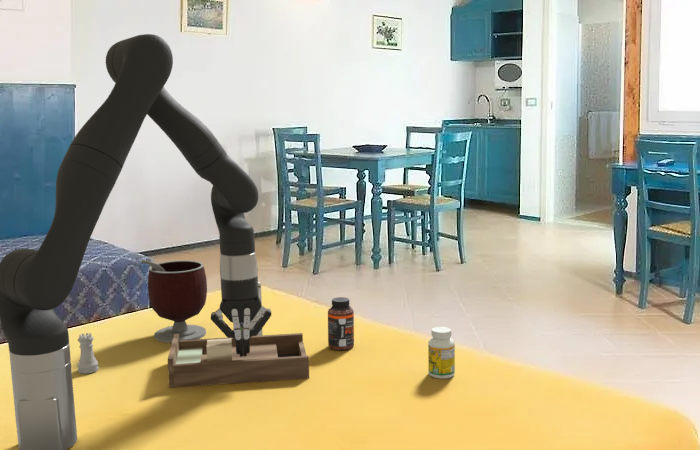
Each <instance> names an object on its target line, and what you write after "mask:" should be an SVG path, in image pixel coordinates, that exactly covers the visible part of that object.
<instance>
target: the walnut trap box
mask: <svg viewBox="0 0 700 450" xmlns="http://www.w3.org/2000/svg"><path fill="white" fill-rule="evenodd" d="M230 338H231V337H230ZM213 339H229V338H228V337H217V338H215V337H214V338H213V337H212V338H200V339H196V340H180V341H179V334H174V337H173V340H172V343H170V344H171V345H170V349H169V351H168V357H167V371H168V372H167V373H168V385H169V386H168V387H169V388H183V387H184V388H188V387H199V386H212V385H213V386H216V385H226V384H227V385H228V384H243V383H255V382H256V383H258V382H273V381H285V380H287V381H288V380H289V381H290V380H303V379H310V363H309V362H310V361H309V360H310V359H309V358H310V357H309V355H307V353H306V348H305V344H304V338H303V332H296V333H281V334H262V336H252V337H250V339H249V342H250V352H249V353H247V356H244V357H240V354H237V353H236V341H235V339H234V338H231V339H232V360H231V361H215V362H207V340H213ZM242 341H243V337H242Z"/></svg>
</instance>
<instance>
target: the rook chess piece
mask: <svg viewBox="0 0 700 450" xmlns="http://www.w3.org/2000/svg"><path fill="white" fill-rule="evenodd" d="M94 339H95V338H94V336H93V335H92V333H89V332H86V333H81V334H79V336H78V339H77V342H78V343H79V344H80V345H79V348H80V355H79V359H78V363H77V366H76V367H77V370H76V371H77V372H78V373H79V374H81V375H90V374H94V373H96V372H97V371H99V369H100V366H98V365H99V362H98V360H97V358H96V357H95V354H94V349H93V347H94V344H93V341H94Z"/></svg>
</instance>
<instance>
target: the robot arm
mask: <svg viewBox="0 0 700 450" xmlns="http://www.w3.org/2000/svg"><path fill="white" fill-rule="evenodd" d="M173 58H174V57H173V52H172V49H171V47H170V45H169V44H168V42H167V41H166V40H165V39H164V38H163V37H161V36H159V35H156V34H151V33H149V34H147V33H146V34H139V35H134V36H132V37H128V38H125V39H122V40H120V41H117V42H115V43H114V44H113V45H111V46H110V47H109V48H108V51H107V52H106V55H105V67H106V71H107V73H108V75H109V77H110V79H112V81H113V82H114V83H115V84H114V85H113V88H112V90H111V92H110V94H109V95H108V96H107V98H106V99H105V100H104V101H103V103H102V104H101V105H100V107H98V109H97V110H96V111H95V112H94V113H93V114H92V115H91V116H90V117H89V118H88V120H87V121H86V122H85V123H84V124H83V126H82V127H81V128H80V129H79V130H78V132H77V133H76V135H75V136H74V138H73V139H72V141H71V143H70V144H69V147H68V149H67V151H66V153H65V155H64V157H63V159H62V161H61V163H60V165H59V167H58V169H57V175H56V181H55V209H54V216H53V219H52V222H51V225H50V227H49V228H48V231H47V234H46V236H44V240H43V241H42V243H41V245H40V246H39V248H38V249H33V248H32V249H31V248H18V249H15V250H12V251H10V252H8V253H7V254H6V255H5V256H4V257H3V258H2V259H1V260H0V327H1V330H2V334H3V336H4V337H5V338H6V341H7V344H8V353H9V362H10V373H11V382H12V384H11V385H12V394H13V404H14V405H13V406H14V416H15V424H16V425H15V426H16V434H17V444H18V446H17V447H18V450H68V449H71V447H73V446H74V445H75V444H76V443H77V441H78V434H77V433H78V430H77V421H76V419H77V418H76V408H75V398H74V397H75V395H74V385H73V383H74V382H73V372H72V362H71V359H72V358H71V347H70V346H71V345H70V337H69V329H68V327H67V325H66V324H65V323H64V322H63V321H62V320H61V319H60V318H59V316H58V315H57V313H56V311H55V310H54V309H56V308H57V307H59V306H60V305H61V304H63V303H64V301H66V300H67V298H68V296H69V295H70V293H71V291H72V290H73V288H74V286H75V282H76V280H77V277H78V274H79V271H80V268H81V265H82V262H83V259H84V256H85V253H86V250H87V247H88V245H89V242H90V240H91V238H92V235H93V233H94V230H95V227H96V225H97V223H98V222H99V219H100V217H101V215H102V213H103V212H102V211H103V209H104V207H105V206H106V203H107V200H108V199H109V197H110V194H111V193H112V191H113V190H114V189H113V188H114V187H115V185H116V182H117V180H118V178H119V176H120V174H121V172H122V170H123V168H124V166H125V163H126V161H127V158H128V155H129V153H130V151H131V149H132V146H133V145H134V142H135V140H136V138H137V136H138V134H139V131H140V130H141V128H142V125H143V122H144V120H145V119H146V117H147V115H148V117H149V118H150V119H151V120H152V121H153V122H154V123H155V124H156V125H157V126H158V127H159V128H160V129H161V130H162V132H163V133H165V135H166V136H167V137H168V138H169V140H170V141H171V142H172V143H173V144H174V146H175V147H176V148H177V149H178V150H179V152H180V153H181V155H182V157H184V159H185V160H186V162H187V163H188V164H189V165H190V167H191V168H192V169H193V171H194V172H195V173H196V174H197V175H198V176H199V177H200V178H202V179H203V180H206V181H207V182H209V183H210V184H211V185H212V188H211V191H210V201H211V202H210V204H211V207H212V209H211V210H212V213H213V217H214V220H215V223H216V225H217V226H216V227H217V229H218V232H219V253H220V255H219V256H220V257H219V258H220V259H219V276H220V291H221V302H220V304H219V308H218V309H217V310H215V311H213V312H211V313H210V320H211V321H212V323H213V324H215V326H216V327H218V329H219V330H220V331H221V332H222V333H223V335H225V336H226V338H230V337H231V338H234V339H235V341H236V353H237V354H240V357H244V356H247V353H249V352H250V342H249V339H250V337H252V336H257V335H258V333H259V332H260V330H261V329H262V330H263V328H264V326H266V323H268V321H269V319H270V318H271V317H272V310H271V309H270V308H266V307H265V306H263V303H262V304H261V301H260V299H259V292H258V282H259V280H258V279H259V276H258V275H259V274H258V271H259V270H258V269H259V268H258V261H257V256H256V244H255V242H256V241H255V229H254V226H252V224H250V223H249V222H248V221H247V220H246V218H245V213H248V212H250V211H252V210H254V209H255V208H256V206H257V205H258V202H259V190H258V187H257V186H256V183H255V182H254V180H253V179H252V178H251V176H250V175H249V174H248V173H247V172H246V171H245V170H244V169H243V168H242V167H241V166H240V165H239V164H238V163H237V162H236V161H235V160H234V159H233V158H231V157H230V155H229V154H227V152H226V150H225V149H224V147H223V146H222V144H221V143H220V141H218V139H217V137H216V136H215V135H214V134H213V132H212V131H211V130H210V129H209V128H208V126H206V124H205V123H204V122H203V121H202V120H200V119H199V118H198V117H196V116H195V115H194V114H193V113H191V112H190V111H189V110H188V109H187V108H185V107H184V106H183V105H182V104H181V103H179V102H178V101H177V100H176V99H175V98H174V97H173V96H172V95H171V94H170V93H169V91H168V90H167V89H166V88H165V85H166V84H167V82H168V79H169V78H170V76H171V73H172V70H173V64H174V61H173V60H174V59H173ZM259 310H260V313H259V315H260V318H259V320H258V321H257V322H256V324H255V325H254V327H253V328H252V329H250V322H251V321H252V320H253V319H254V317H255V316H256V314H257V313H258V311H259ZM224 316H225V317H226V319H227V320H228V321H229V322H230V323H232V327H233V326H234V330H233V329H232V328H231V327H230V326H229V325H228V324H227V323H226V322H225V320H224ZM241 322H242V323H244V333H243V341H242V337H241V328H240V323H241Z"/></svg>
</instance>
